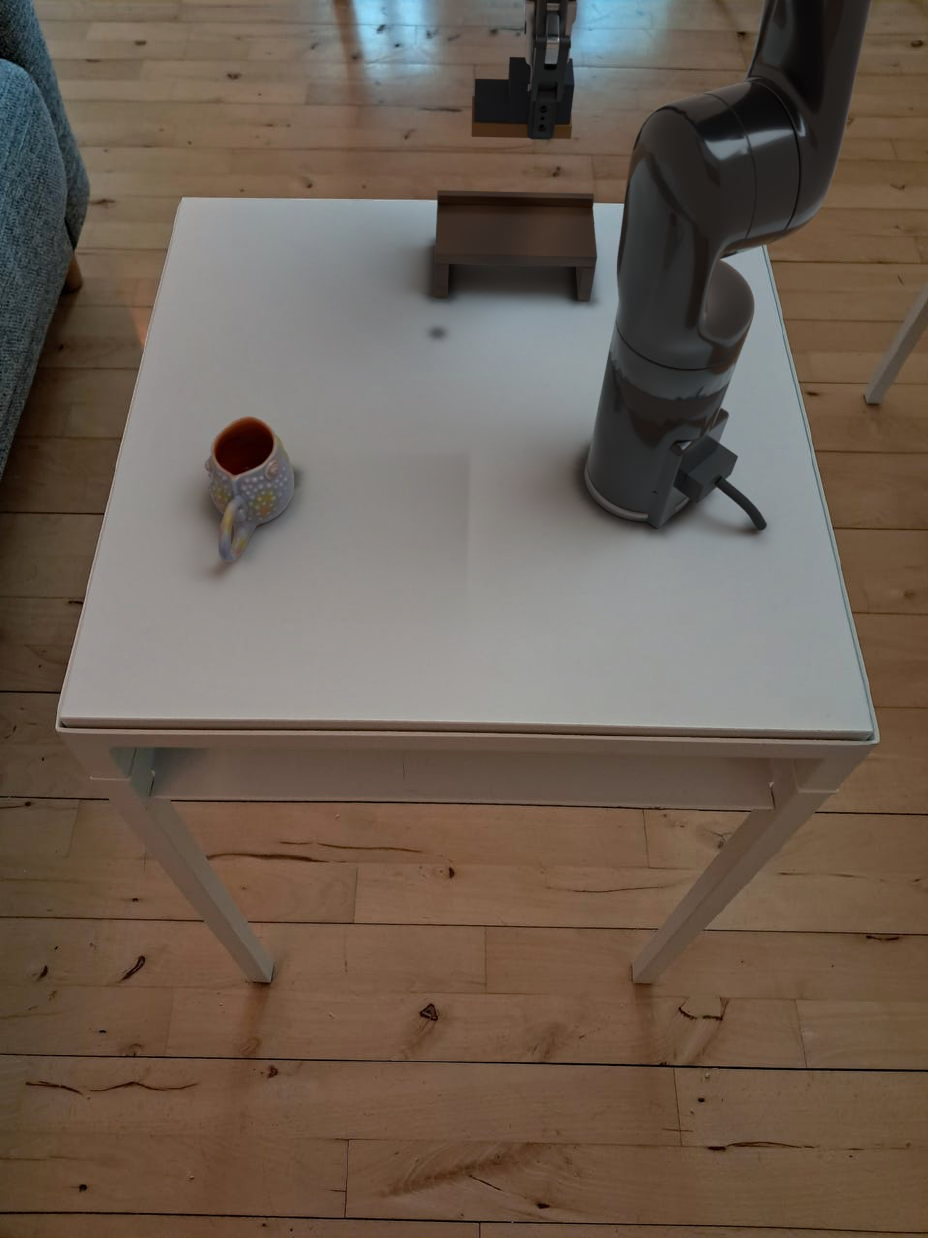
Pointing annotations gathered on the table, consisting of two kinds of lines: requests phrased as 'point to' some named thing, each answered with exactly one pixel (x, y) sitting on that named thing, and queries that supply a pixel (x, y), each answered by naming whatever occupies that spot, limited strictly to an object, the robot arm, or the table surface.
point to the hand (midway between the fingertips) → (539, 119)
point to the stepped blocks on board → (516, 104)
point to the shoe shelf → (515, 232)
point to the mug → (247, 481)
